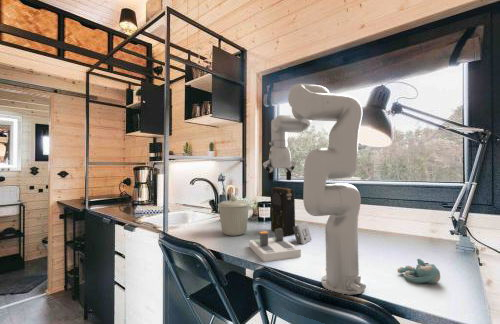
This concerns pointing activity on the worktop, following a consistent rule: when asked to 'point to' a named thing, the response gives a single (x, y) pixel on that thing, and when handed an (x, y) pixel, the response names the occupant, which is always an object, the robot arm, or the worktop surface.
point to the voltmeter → (283, 210)
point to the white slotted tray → (275, 250)
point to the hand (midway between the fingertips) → (279, 180)
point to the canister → (234, 216)
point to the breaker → (279, 234)
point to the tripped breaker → (264, 238)
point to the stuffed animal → (421, 272)
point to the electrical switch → (302, 233)
